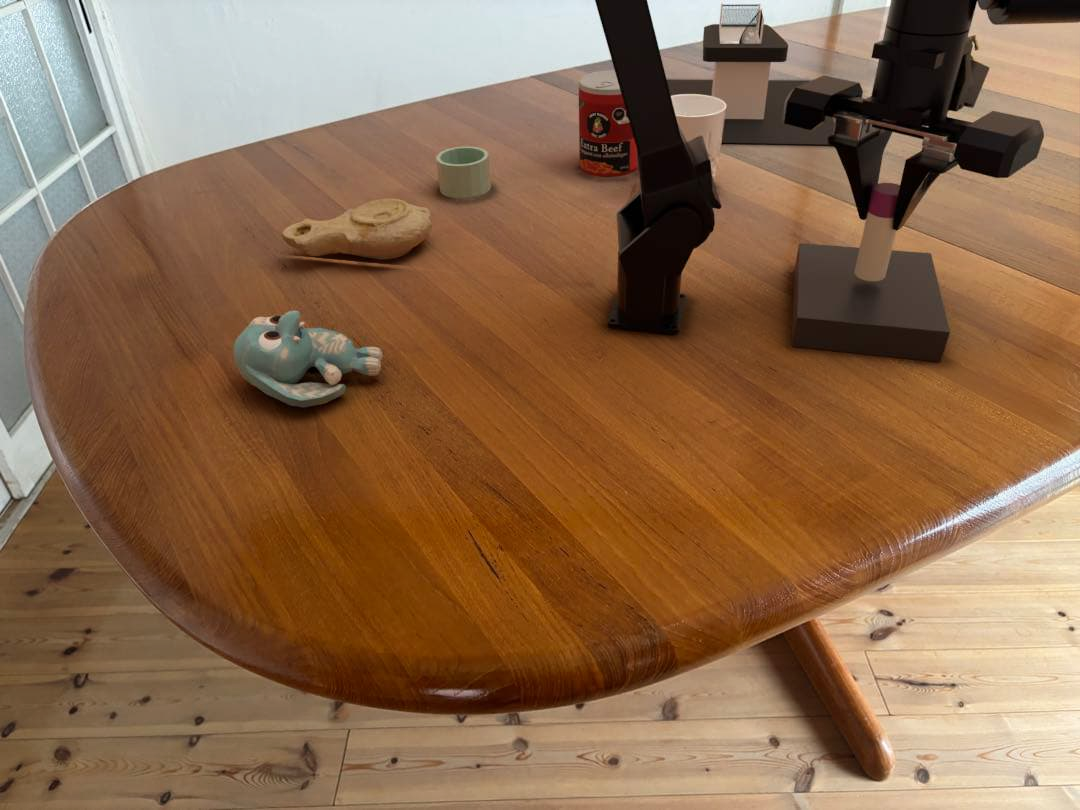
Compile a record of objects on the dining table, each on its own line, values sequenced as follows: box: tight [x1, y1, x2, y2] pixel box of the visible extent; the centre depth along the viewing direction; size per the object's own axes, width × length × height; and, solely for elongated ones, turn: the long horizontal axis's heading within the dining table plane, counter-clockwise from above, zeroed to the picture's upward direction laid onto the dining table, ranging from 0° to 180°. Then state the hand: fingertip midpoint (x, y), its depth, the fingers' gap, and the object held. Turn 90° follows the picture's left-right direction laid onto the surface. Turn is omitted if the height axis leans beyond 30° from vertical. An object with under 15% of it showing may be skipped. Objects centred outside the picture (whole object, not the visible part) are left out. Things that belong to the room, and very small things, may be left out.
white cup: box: [671, 94, 726, 181], centre depth 95 cm, size 8×8×10 cm
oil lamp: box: [281, 198, 433, 260], centre depth 86 cm, size 11×14×5 cm
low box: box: [791, 242, 951, 363], centre depth 74 cm, size 14×12×3 cm
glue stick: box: [854, 182, 900, 281], centre depth 70 cm, size 3×3×8 cm
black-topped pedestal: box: [667, 3, 835, 146], centre depth 116 cm, size 28×26×13 cm
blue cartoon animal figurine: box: [232, 309, 384, 408], centre depth 68 cm, size 11×7×12 cm
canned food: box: [578, 69, 638, 178], centre depth 101 cm, size 8×8×11 cm
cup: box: [435, 145, 492, 200], centre depth 99 cm, size 6×6×4 cm
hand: (881, 223), depth 70 cm, fingers closed on glue stick, 3 cm apart
